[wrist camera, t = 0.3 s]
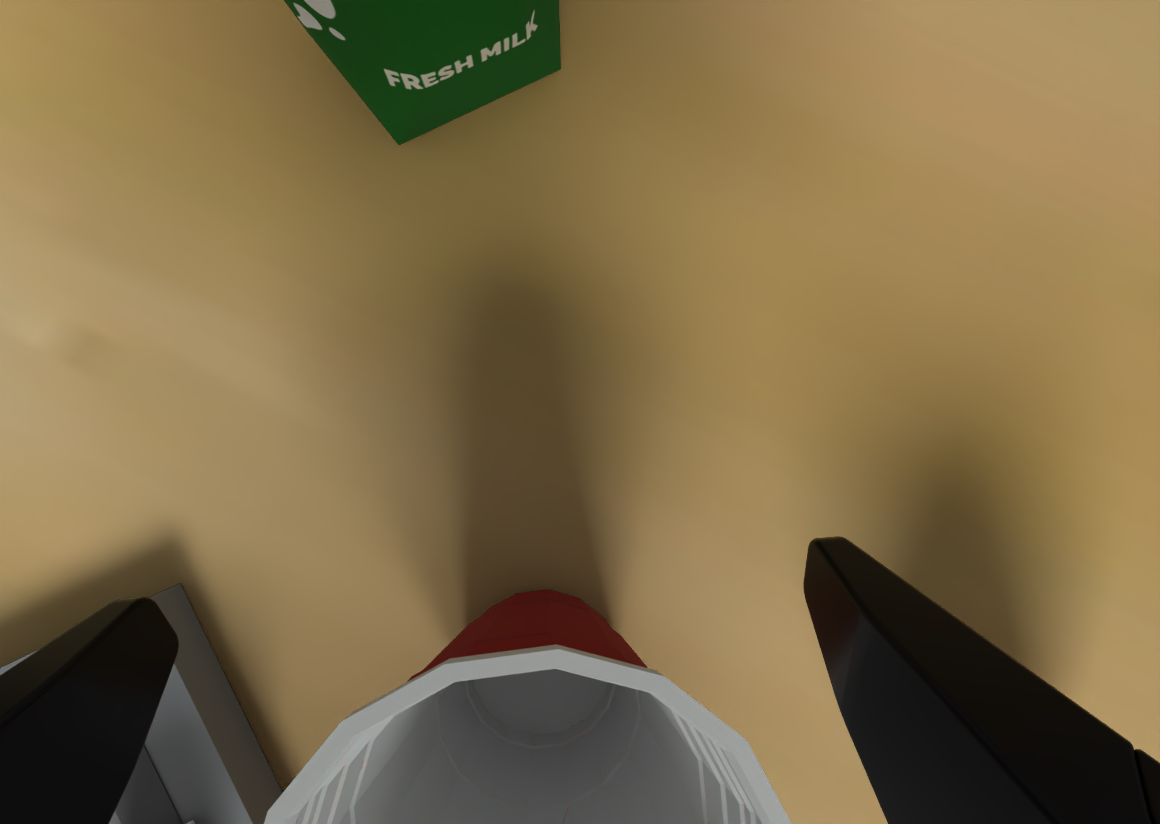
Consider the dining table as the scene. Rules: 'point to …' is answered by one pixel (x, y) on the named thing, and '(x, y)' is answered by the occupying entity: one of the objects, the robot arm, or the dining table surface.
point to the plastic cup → (533, 737)
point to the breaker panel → (196, 742)
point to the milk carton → (433, 53)
